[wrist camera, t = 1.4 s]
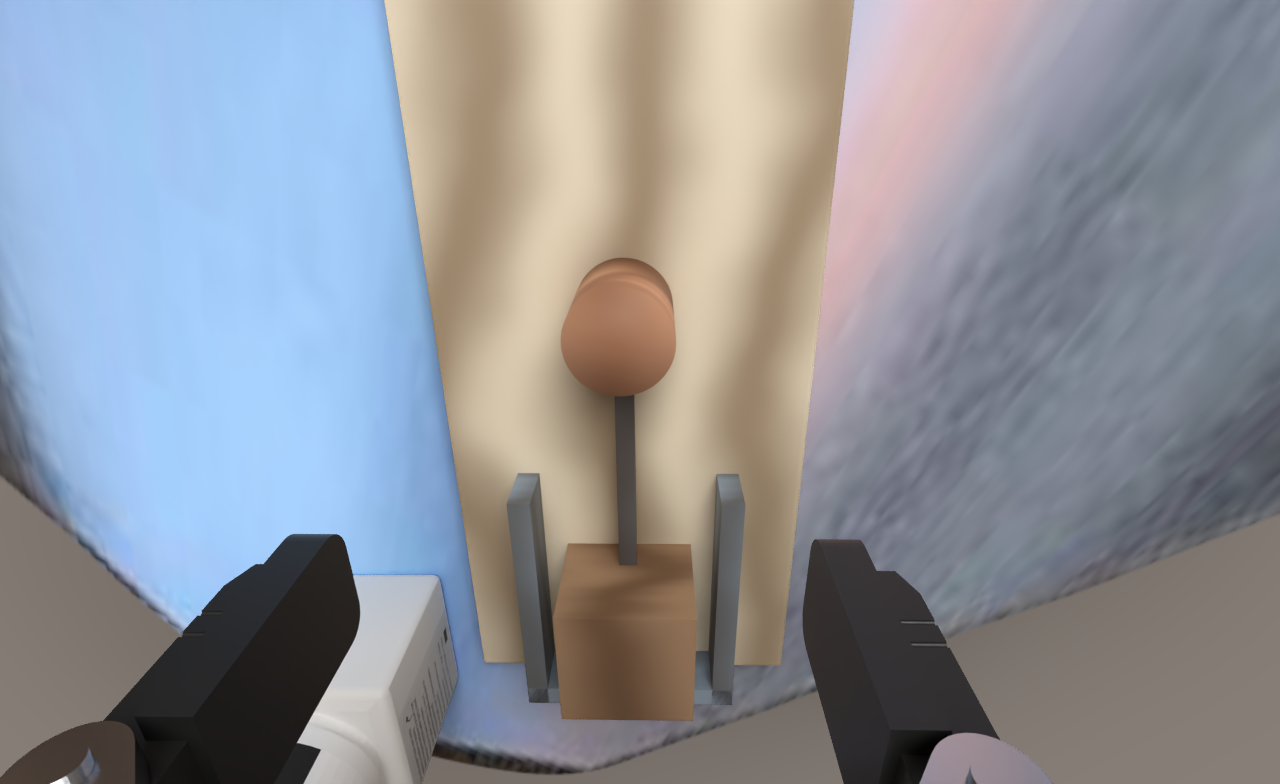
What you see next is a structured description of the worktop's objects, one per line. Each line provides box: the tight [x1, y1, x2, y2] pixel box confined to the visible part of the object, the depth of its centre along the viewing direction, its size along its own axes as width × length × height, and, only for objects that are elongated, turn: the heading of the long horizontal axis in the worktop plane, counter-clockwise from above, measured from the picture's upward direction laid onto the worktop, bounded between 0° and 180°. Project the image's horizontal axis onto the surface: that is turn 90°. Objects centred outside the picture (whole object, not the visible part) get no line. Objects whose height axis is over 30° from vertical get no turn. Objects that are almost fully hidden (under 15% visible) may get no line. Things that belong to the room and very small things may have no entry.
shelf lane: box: [384, 0, 854, 705], centre depth 26 cm, size 16×36×4 cm, turn 1°
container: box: [274, 575, 458, 784], centre depth 30 cm, size 8×8×13 cm
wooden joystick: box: [553, 258, 697, 721], centre depth 27 cm, size 6×20×5 cm, turn 1°
